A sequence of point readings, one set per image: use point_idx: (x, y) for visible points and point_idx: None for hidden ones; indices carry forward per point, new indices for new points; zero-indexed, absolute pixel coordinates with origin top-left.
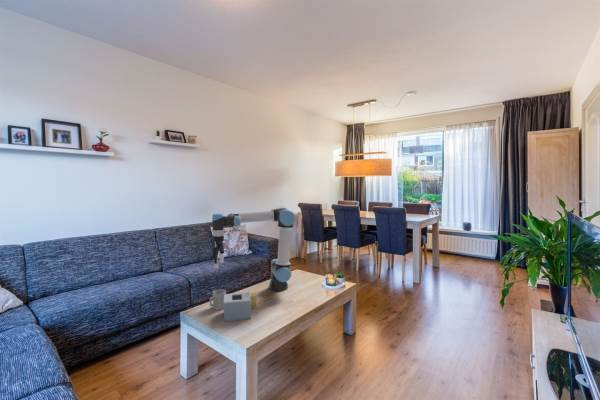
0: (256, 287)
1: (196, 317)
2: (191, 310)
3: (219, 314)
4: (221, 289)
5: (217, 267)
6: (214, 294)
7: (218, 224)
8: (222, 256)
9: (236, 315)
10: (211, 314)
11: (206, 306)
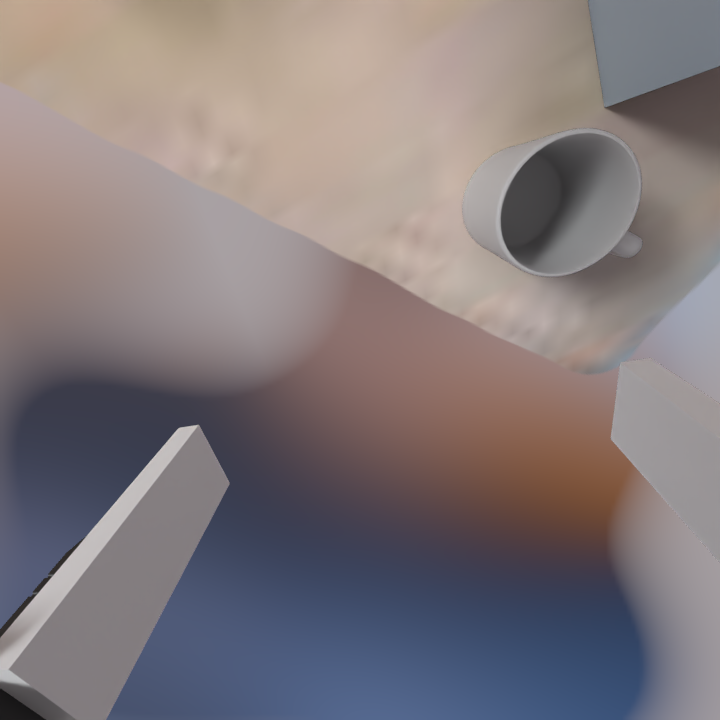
0: (31, 64)
1: (676, 280)
2: (563, 361)
3: (644, 132)
4: (499, 217)
5: (659, 373)
6: (620, 232)
7: None
8: (108, 568)
9: None
10: None
11: (499, 303)
